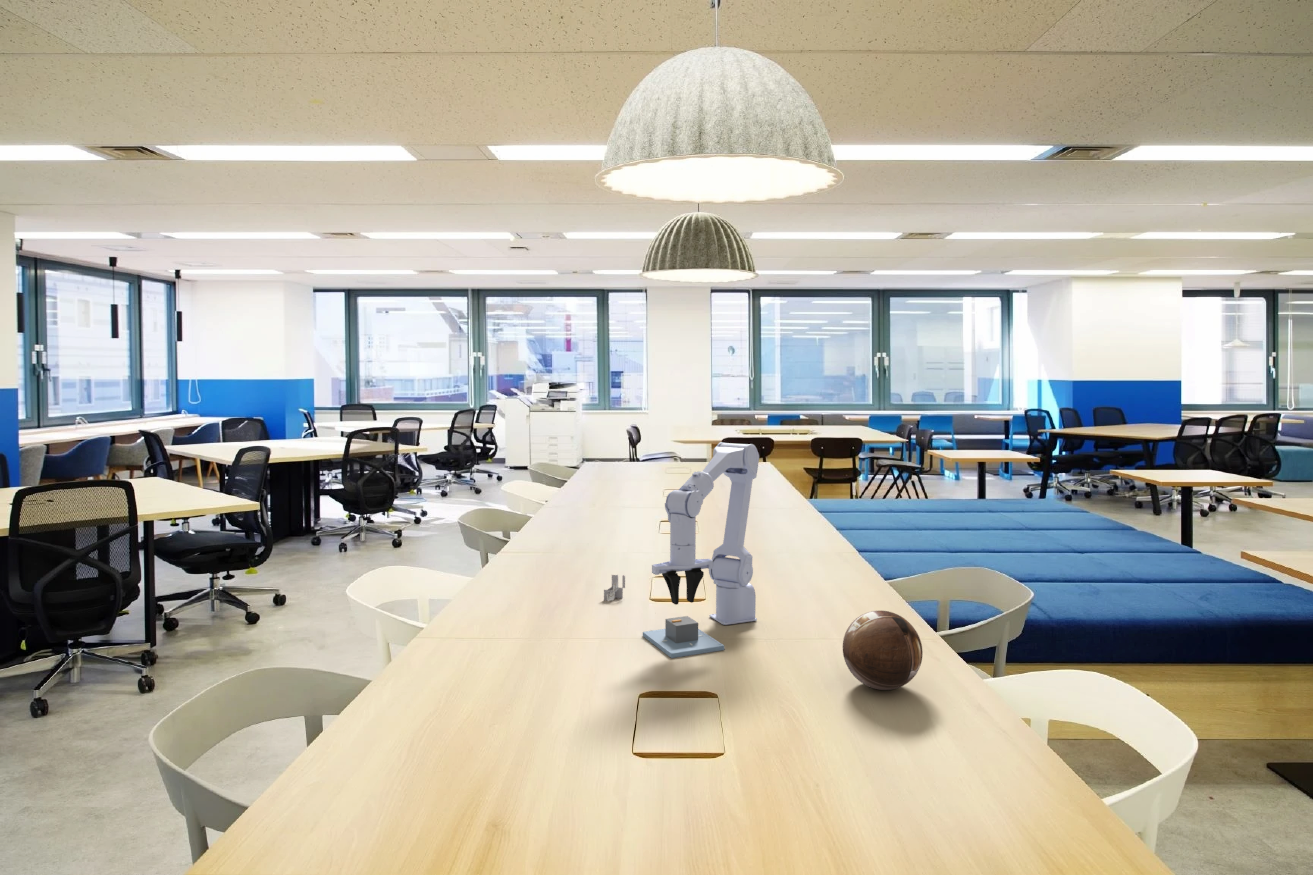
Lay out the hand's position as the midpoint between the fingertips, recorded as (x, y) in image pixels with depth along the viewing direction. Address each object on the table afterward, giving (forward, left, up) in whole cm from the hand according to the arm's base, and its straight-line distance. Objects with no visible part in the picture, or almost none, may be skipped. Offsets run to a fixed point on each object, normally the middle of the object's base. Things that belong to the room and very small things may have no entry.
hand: (682, 602), depth 182 cm
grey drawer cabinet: (0, 0, -8) cm, 8 cm away
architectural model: (0, -35, -10) cm, 36 cm away
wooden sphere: (-25, +39, -10) cm, 47 cm away
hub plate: (0, 0, -9) cm, 9 cm away
